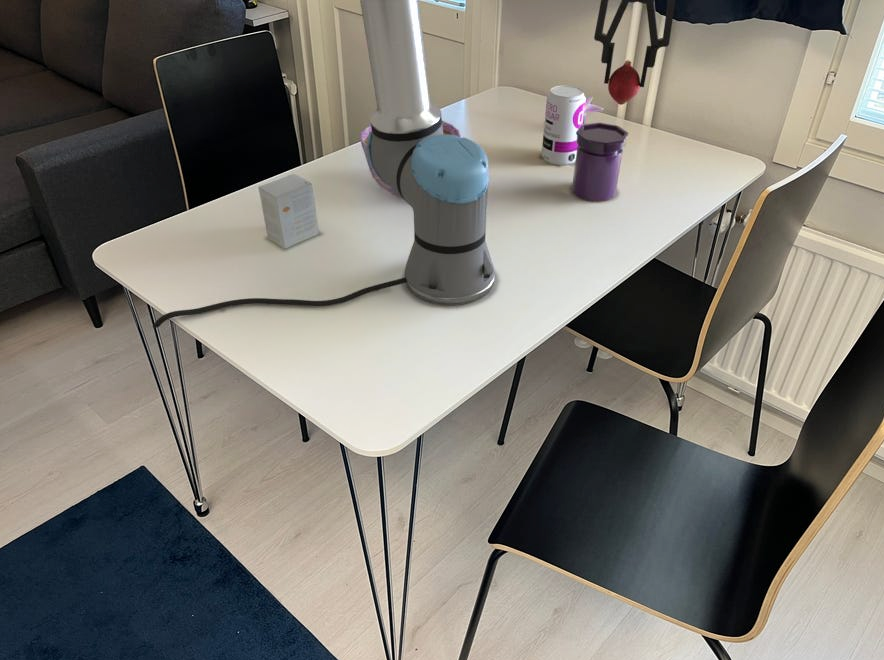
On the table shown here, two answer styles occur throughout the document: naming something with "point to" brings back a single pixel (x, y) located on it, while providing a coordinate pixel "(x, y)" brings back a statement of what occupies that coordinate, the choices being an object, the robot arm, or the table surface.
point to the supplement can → (562, 124)
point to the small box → (289, 210)
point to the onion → (624, 83)
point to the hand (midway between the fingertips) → (624, 82)
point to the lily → (590, 108)
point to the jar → (598, 161)
